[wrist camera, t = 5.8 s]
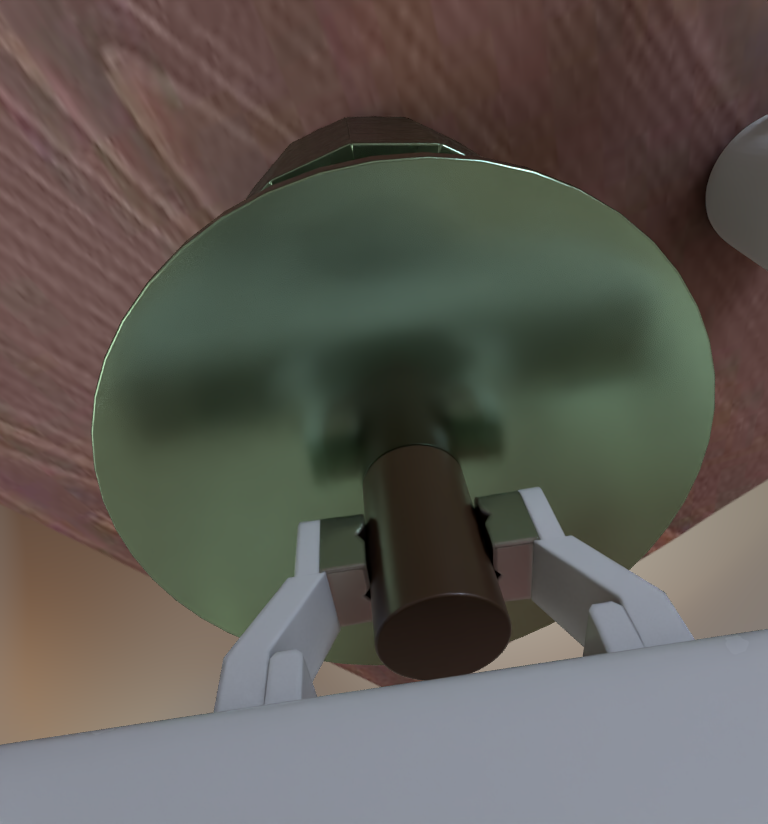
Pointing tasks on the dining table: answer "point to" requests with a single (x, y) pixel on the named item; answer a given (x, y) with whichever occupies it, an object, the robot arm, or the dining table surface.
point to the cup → (742, 193)
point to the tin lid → (400, 395)
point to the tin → (356, 145)
